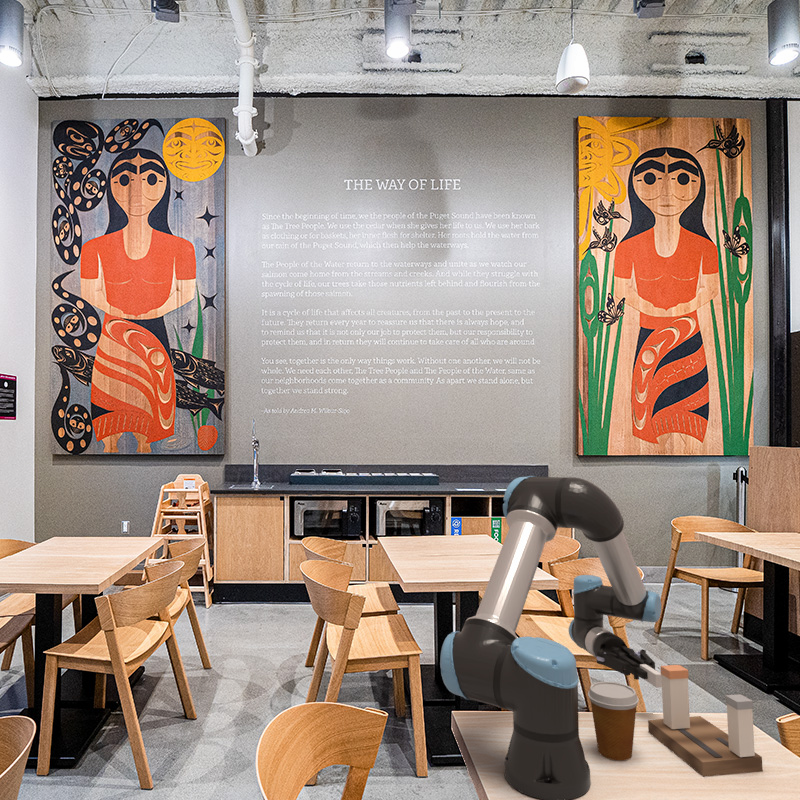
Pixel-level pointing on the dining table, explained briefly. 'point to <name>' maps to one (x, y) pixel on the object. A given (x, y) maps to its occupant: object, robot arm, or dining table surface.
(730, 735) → the grey topped white block
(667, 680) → the orange topped beige block
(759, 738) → the dining table surface
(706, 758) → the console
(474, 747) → the dining table surface
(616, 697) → the disposable coffee cup
